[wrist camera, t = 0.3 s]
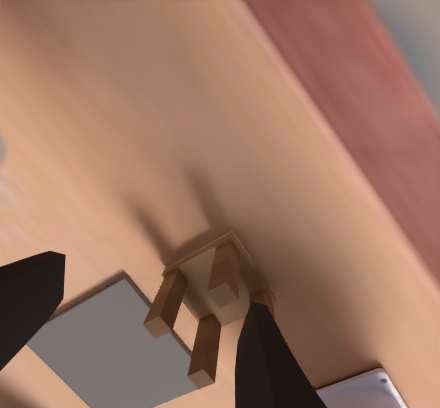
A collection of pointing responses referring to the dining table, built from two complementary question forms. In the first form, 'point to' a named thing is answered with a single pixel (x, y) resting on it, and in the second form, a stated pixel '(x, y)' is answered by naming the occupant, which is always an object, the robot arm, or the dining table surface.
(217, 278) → the stool
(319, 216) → the dining table surface
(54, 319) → the mat
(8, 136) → the dining table surface
